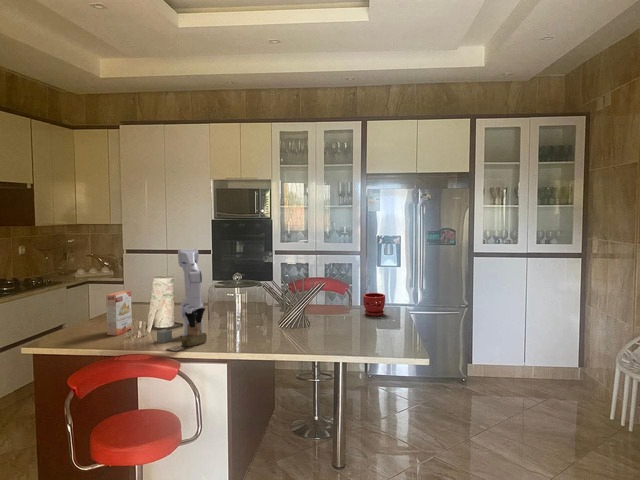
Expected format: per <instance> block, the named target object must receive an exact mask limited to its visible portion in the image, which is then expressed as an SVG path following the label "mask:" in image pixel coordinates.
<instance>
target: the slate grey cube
mask: <svg viewBox="0 0 640 480" xmlns="http://www.w3.org/2000/svg"><path fill="white" fill-rule="evenodd" d="M156 341H157V342H158V343H162V344H163V343H168V342H171V341H173V330H170V329H166V328H165V329H160V330H157V331H156Z"/></svg>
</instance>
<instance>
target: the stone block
mask: <svg viewBox="0 0 640 480" xmlns="http://www.w3.org/2000/svg"><path fill="white" fill-rule="evenodd" d="M203 332H204V331H203ZM203 332H202V333H201V334H200V335H198V336H188V335H185V336H181V345H182V347H194V346H197V345H202V344H205V343H207V339H208V335H207V333H206V332H204V333H203Z"/></svg>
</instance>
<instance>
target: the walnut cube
mask: <svg viewBox="0 0 640 480" xmlns="http://www.w3.org/2000/svg"><path fill="white" fill-rule="evenodd" d="M201 333H202V331H201V323H195V327H190V325H189V324H188V325H187V334H188V336H198V335H200V334H201Z"/></svg>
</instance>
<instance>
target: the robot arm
mask: <svg viewBox="0 0 640 480" xmlns="http://www.w3.org/2000/svg"><path fill="white" fill-rule="evenodd" d="M198 261H199V249H198V248H190V249H189V248H188V249H180V248H179V249H178V250H177V262H178V266H179V267H180V268H182V270H183V278H184V279H183V281H184V293H185V296H184V297H185V299H184V300H182V301H181V302H180V310H179V311H180V318H182V319H183V334H180V337H182V336H185V335H188V334H187V325H188V324H189V325H190V327H195V323H201V331H202V332H203V333H205V332H204V320H203V315H204V313H205V311H206V307H204V302H202V282H203V274H202V271H201V270H200V269H199V265H198V263H199V262H198Z"/></svg>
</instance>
